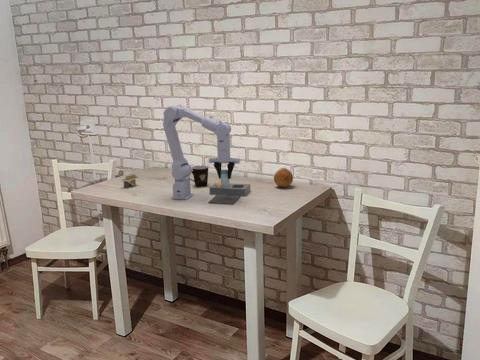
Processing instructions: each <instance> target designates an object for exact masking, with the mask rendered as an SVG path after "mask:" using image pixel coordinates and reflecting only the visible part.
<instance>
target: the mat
mask: <svg viewBox="0 0 480 360" xmlns="http://www.w3.org/2000/svg"><path fill="white" fill-rule="evenodd" d="M240 198H241V196H226V195H214V197H212V198H211V199H210V200H209V201H207V203H208V204H214V205H216V204H218V205H232V206H233V205H234V204H235V203H237V201H238V200H239V199H240Z"/></svg>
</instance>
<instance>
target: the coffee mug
mask: <svg viewBox="0 0 480 360" xmlns="http://www.w3.org/2000/svg"><path fill="white" fill-rule="evenodd" d="M191 168H192V172H191V175H192V176H193V179H192V178H190V181H191V182H194V186H195V188H205V187H208V181H209V180H208V179H209V166H208V165H196V166H192V167H191Z"/></svg>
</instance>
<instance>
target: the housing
mask: <svg viewBox="0 0 480 360" xmlns="http://www.w3.org/2000/svg"><path fill="white" fill-rule="evenodd" d="M217 183H218V182H215V183H213V184H212V185H211V186H209V195H214V196H216V195H226V196H240V197H246V196H247V195H248V194H249V193H250V192H251V184H250V183H229V184H230V188H226V189H224V188H221V187H217Z"/></svg>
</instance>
